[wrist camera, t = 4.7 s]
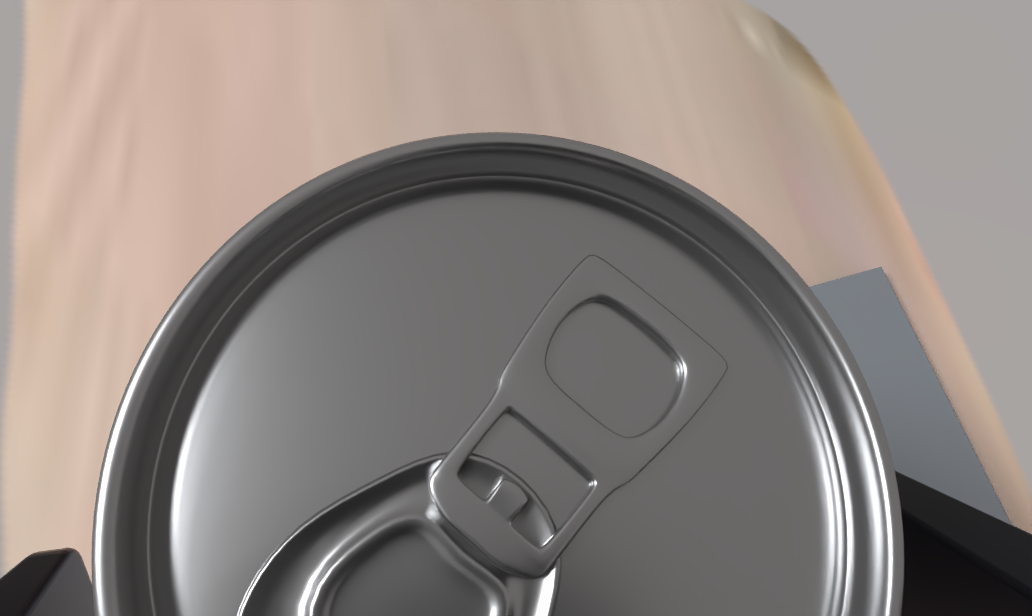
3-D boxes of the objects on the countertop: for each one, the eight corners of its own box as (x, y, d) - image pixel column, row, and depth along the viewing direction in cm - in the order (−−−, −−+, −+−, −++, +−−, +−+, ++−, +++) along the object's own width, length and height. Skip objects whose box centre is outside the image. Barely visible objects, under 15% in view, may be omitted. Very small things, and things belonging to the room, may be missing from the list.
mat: (1047, 622, 17) (1061, 624, 17) (707, 782, 15) (715, 789, 14) (872, 271, 20) (881, 266, 20) (560, 360, 18) (564, 356, 17)
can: (239, 544, 15) (-248, 546, 4) (433, 338, 17) (481, -40, 6) (458, 747, 14) (633, 1464, 3) (630, 506, 17) (1088, 429, 5)
